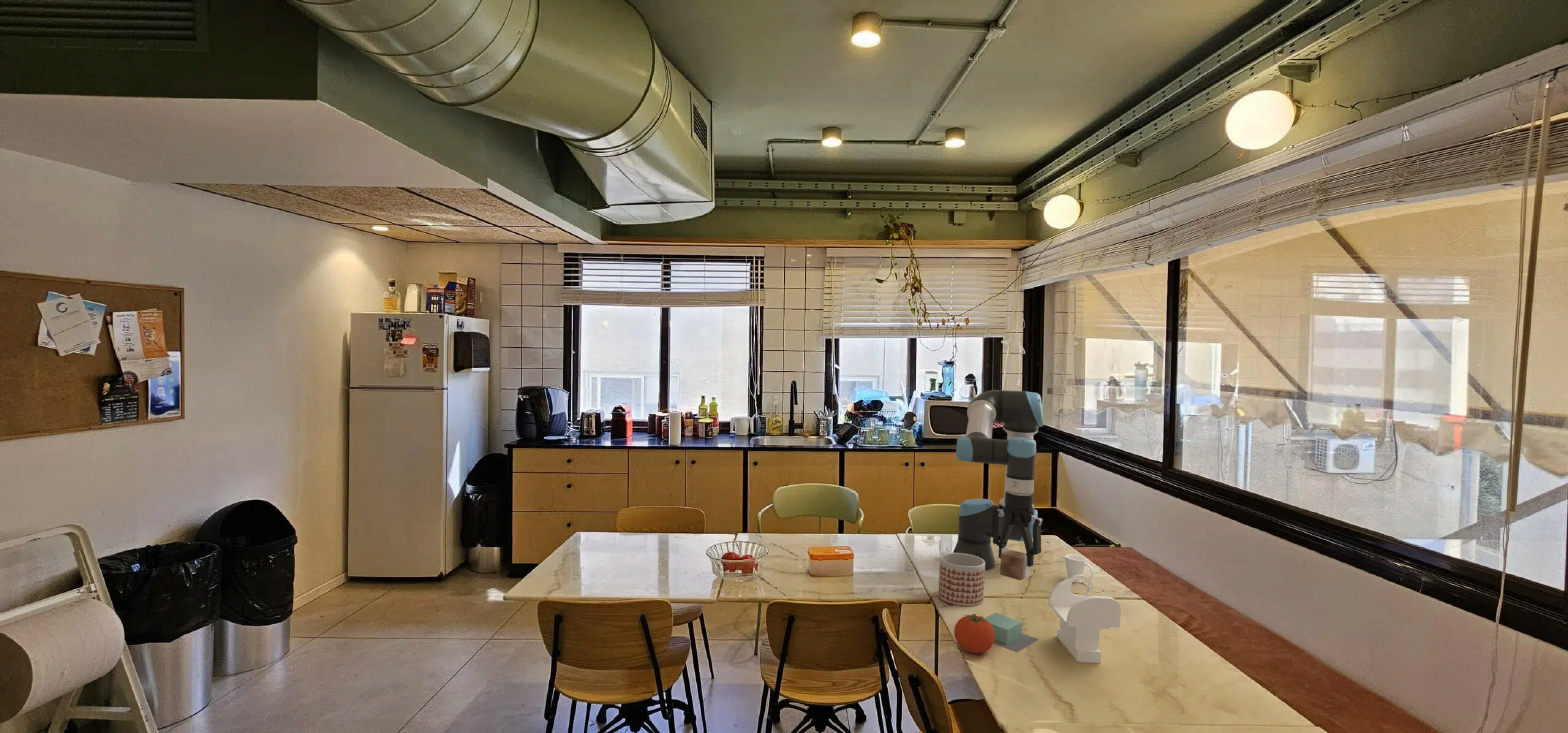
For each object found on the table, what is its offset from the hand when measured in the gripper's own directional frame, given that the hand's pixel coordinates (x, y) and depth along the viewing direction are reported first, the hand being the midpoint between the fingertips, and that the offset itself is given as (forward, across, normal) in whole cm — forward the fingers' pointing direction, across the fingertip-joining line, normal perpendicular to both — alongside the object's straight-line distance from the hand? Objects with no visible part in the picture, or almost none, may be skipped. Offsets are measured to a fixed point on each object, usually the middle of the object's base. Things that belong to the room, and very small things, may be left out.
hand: (1014, 573), depth 191 cm
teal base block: (+15, +1, -8) cm, 17 cm away
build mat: (+16, +1, -8) cm, 18 cm away
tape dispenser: (+16, +19, +2) cm, 25 cm away
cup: (+15, -4, +54) cm, 56 cm away
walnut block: (0, 0, 0) cm, 0 cm away
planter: (+16, -21, +7) cm, 27 cm away
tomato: (+16, +1, -22) cm, 27 cm away
